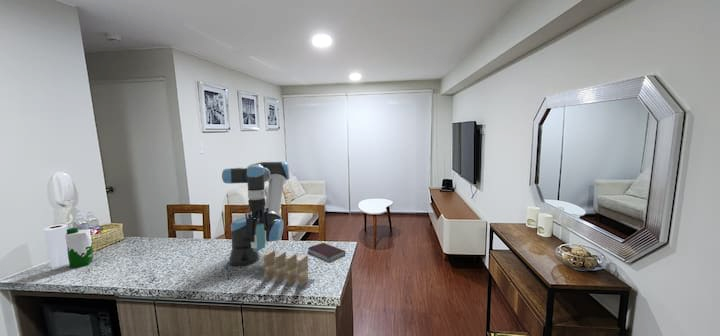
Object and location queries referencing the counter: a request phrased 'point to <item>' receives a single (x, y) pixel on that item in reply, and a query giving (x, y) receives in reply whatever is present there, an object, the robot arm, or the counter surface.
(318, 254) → the book
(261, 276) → the runner mat
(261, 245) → the tile
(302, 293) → the counter surface
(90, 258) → the milk carton
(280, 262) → the beige wooden block
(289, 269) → the light wood flat block
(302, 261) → the tile
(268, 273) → the light wood flat block
